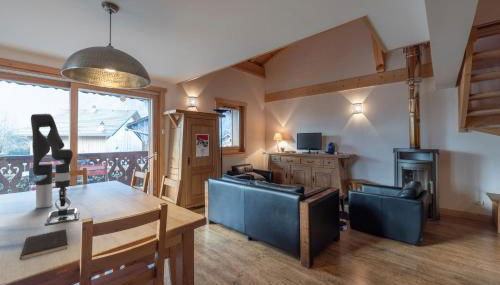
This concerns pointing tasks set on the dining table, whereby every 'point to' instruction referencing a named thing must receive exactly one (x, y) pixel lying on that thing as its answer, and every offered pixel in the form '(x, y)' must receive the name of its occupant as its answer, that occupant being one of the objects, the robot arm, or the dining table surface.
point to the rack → (54, 218)
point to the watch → (63, 210)
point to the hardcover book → (44, 243)
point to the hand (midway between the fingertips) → (63, 205)
